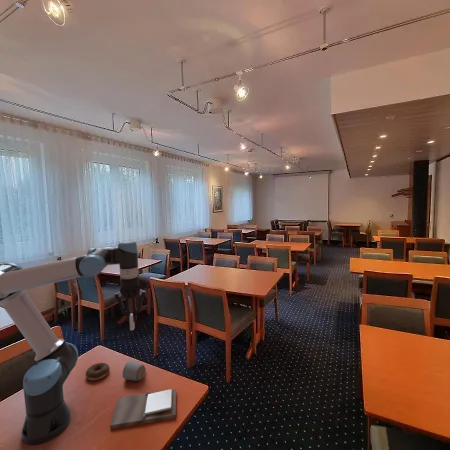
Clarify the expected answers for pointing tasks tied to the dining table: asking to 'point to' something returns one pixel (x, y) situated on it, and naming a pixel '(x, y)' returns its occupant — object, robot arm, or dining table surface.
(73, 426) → the dining table surface
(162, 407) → the tile
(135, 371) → the ceramic mug
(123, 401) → the hinge board
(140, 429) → the dining table surface
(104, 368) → the donut
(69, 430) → the dining table surface
